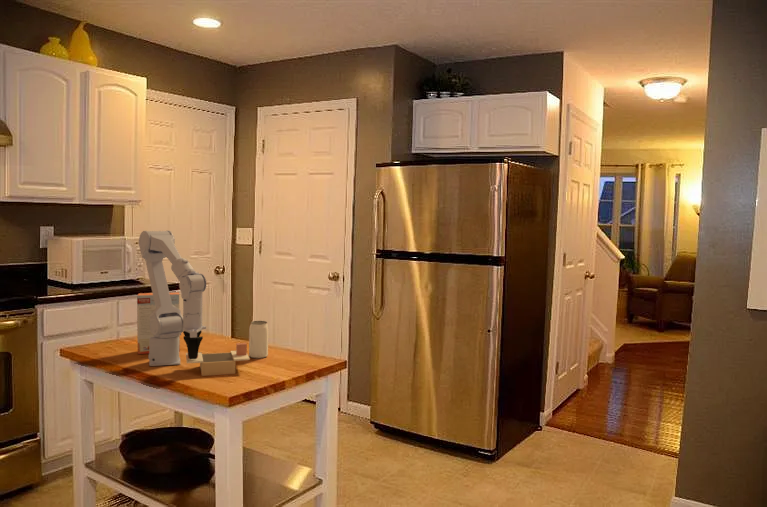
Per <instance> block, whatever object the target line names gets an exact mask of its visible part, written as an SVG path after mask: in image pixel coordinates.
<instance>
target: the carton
mask: <svg viewBox="0 0 767 507" xmlns="http://www.w3.org/2000/svg"><path fill="white" fill-rule="evenodd" d="M202 357H203V363H199V368H200V373H201V377H205V376H220V375H235V374H236V361H234V360H233V357H232V355H231V351H230V352H215V353H214V352H213V353H202Z"/></svg>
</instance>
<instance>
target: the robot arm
mask: <svg viewBox="0 0 767 507" xmlns="http://www.w3.org/2000/svg"><path fill="white" fill-rule="evenodd" d="M175 240H176V238H175V236H174V233H173V232H172V231H171V230H162V231H161V230H148V231H147V230H143V231H141V233H140V234H139V237H138V247H139V251H140V255H141V258H142V259H144V260H145V266H146V269H147V275H148V278H149V285H150V288H151V293H153V297H154V302H155V306H156V309H155V310H154V311H153V312H152V313H151V315H150V316H149V317H150V331H151V333H152V334H153V335H154V337H150V340H149V354H148V355H147V356H148V361H149V363H148V364H149V366H150V367H159V366H172V365H173V366H175V365H176V366H177V365H181V357H180V352H179V336H182V334H183V340H184V342H185V346H186V348H187V353H188V355H189V359H197V355H198V353H199V349H200V345H201V343H202V341H203V338H204V336H201V334H202V331H203V330H206V329H207V326H206V325H203V293H204V292H205V291H206V288H207V280H206V276H205V275H204V274H203V273H199V271H196V270H195V268H194V267H193V266H192V264H191V263H190V261H189V260H188V259H187V258H184V257H182V255H181V254H180V252H179V250H178V248H177V247H176V244H175V242H176V241H175ZM165 258H166V259H167V260H168V261H169V262H170V263H171V266H170V269H171V271H172V272H173V274H174V276H175V277H176V279H177V280H178V281H179V284H178V287H179V289H180V290H179V291H180V292H181V293H180V294H181V296H180V297H181V299H182V300H183V301H182V307H183V308H182V309H183V310H182V312H181V310H180V308H179V309H178V308H176V307H175V306H173V305H172V302H171V298H170V293H171V292H170V289H169V285H168V281H167V277H166V273H165V268H164V264H163V260H164V259H165Z"/></svg>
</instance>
